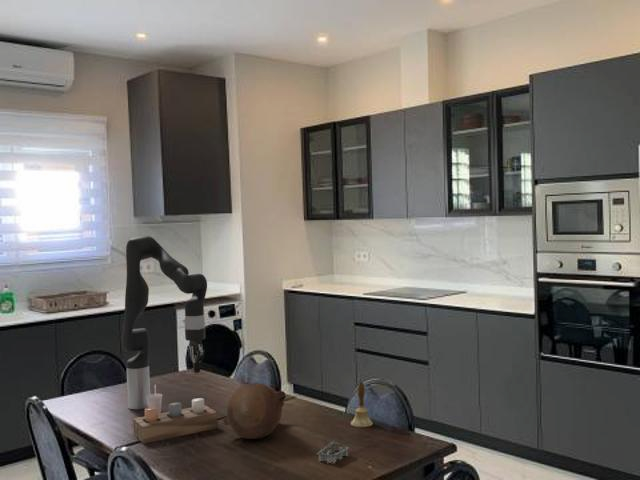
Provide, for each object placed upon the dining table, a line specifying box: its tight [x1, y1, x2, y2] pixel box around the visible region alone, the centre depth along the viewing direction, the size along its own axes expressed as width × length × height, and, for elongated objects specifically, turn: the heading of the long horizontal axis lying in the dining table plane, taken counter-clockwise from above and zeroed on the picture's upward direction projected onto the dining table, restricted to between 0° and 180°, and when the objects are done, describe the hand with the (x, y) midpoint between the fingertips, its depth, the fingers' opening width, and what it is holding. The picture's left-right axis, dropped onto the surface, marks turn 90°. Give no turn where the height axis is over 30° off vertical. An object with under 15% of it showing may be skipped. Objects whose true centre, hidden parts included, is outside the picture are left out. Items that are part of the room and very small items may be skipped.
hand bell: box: [350, 381, 373, 428], centre depth 239 cm, size 8×8×16 cm
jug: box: [222, 382, 287, 440], centre depth 233 cm, size 20×20×30 cm
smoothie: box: [146, 384, 163, 414], centre depth 252 cm, size 6×6×14 cm
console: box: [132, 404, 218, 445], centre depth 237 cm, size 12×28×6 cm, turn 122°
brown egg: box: [144, 407, 158, 423], centre depth 233 cm, size 5×5×6 cm
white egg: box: [191, 397, 205, 414], centre depth 242 cm, size 5×5×6 cm
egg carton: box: [316, 440, 349, 464], centre depth 206 cm, size 10×7×4 cm
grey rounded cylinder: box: [168, 401, 183, 418], centre depth 237 cm, size 5×5×6 cm
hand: (196, 372), depth 242 cm, fingers closed
